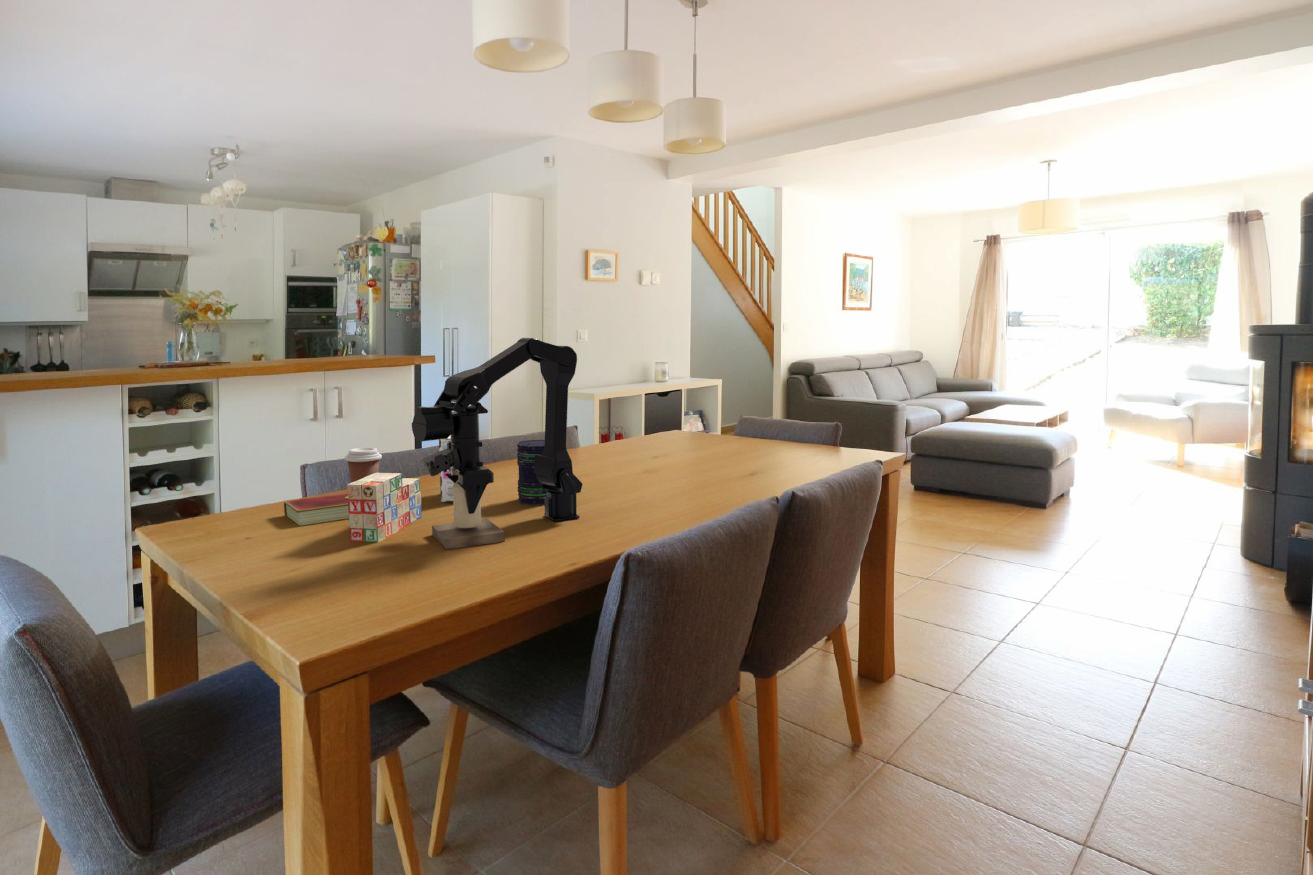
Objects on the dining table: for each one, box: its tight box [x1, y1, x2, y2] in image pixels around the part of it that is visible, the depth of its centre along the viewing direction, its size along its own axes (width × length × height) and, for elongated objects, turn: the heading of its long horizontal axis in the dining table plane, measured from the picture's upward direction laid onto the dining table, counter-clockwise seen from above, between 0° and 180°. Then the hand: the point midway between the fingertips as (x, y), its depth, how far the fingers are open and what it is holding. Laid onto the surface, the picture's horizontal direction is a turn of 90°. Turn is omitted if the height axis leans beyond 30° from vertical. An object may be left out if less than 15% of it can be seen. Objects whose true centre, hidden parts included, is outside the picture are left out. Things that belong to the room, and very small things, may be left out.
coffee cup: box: [344, 446, 383, 483], centre depth 197 cm, size 9×9×12 cm
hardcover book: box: [283, 492, 349, 527], centre depth 178 cm, size 12×21×4 cm, turn 129°
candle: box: [452, 479, 482, 528], centre depth 157 cm, size 6×6×10 cm
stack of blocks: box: [346, 472, 423, 543], centre depth 164 cm, size 21×6×12 cm, turn 173°
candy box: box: [438, 435, 454, 503], centre depth 195 cm, size 14×6×16 cm, turn 179°
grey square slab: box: [431, 518, 506, 550], centre depth 158 cm, size 12×12×2 cm
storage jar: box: [516, 439, 548, 506], centre depth 191 cm, size 10×10×15 cm
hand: (467, 510), depth 157 cm, fingers closed on candle, 5 cm apart
